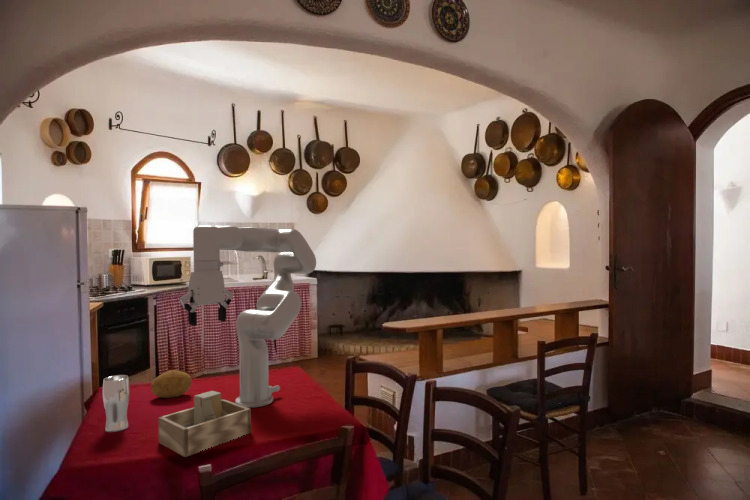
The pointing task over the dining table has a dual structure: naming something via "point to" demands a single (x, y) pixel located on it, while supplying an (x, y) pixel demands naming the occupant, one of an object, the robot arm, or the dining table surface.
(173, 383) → the potato
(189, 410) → the insert box
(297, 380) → the dining table surface
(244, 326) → the robot arm
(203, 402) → the skincare box
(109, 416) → the beer glass
